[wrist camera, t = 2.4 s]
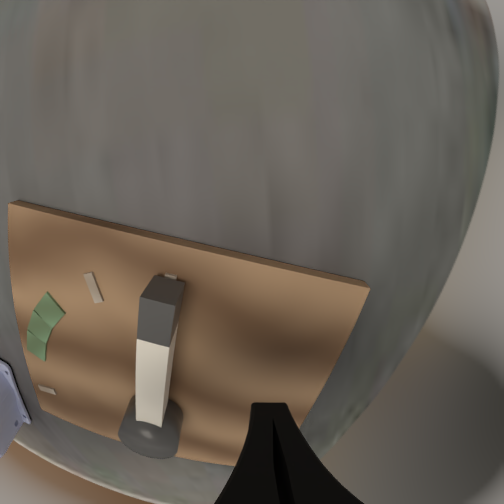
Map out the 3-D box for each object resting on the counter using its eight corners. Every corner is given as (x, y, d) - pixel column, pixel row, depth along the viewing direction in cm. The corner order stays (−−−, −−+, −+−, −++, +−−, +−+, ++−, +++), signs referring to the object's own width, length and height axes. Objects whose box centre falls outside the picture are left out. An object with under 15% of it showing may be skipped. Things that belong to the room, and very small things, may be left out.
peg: (180, 432, 18) (175, 463, 15) (130, 419, 18) (120, 448, 15) (209, 286, 14) (201, 317, 12) (133, 267, 14) (111, 293, 11)
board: (270, 460, 22) (271, 470, 20) (45, 402, 19) (40, 410, 18) (363, 281, 16) (371, 289, 15) (17, 200, 14) (6, 203, 12)
